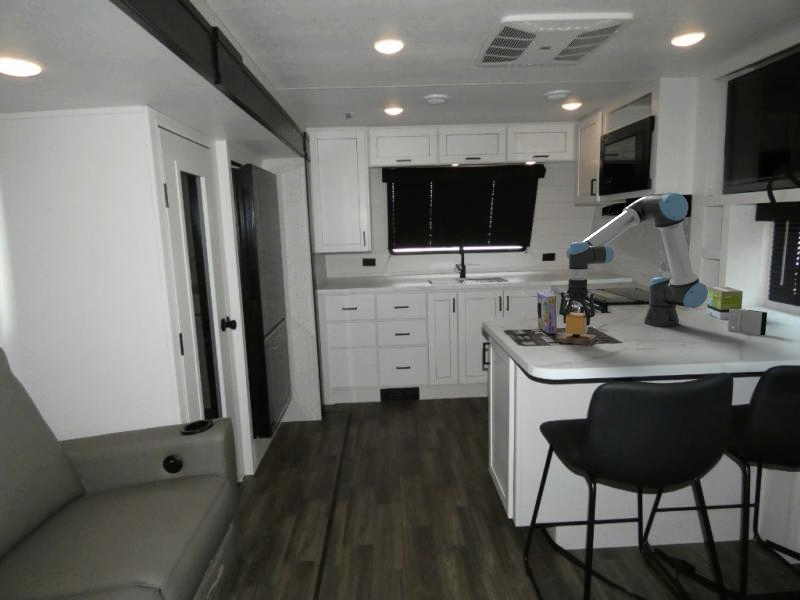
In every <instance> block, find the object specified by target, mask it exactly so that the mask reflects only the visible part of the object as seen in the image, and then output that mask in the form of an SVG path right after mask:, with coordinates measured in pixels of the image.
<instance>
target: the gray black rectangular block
mask: <svg viewBox="0 0 800 600" xmlns="http://www.w3.org/2000/svg"><path fill="white" fill-rule="evenodd" d="M733 313H735V315H733ZM727 320H728V321H727V322H728V323H727V332H733V333H734V332H735V333H737V332H738V333H745V334H748V335H754V334H755V336H762V335H763V336H766V331H767V322H768V321H767V320H768V312H767V311H762V310H754V309H746V308H742V309H739V310H737V309H729V319H727Z"/></svg>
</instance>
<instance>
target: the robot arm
mask: <svg viewBox="0 0 800 600" xmlns="http://www.w3.org/2000/svg"><path fill="white" fill-rule="evenodd" d="M688 211H689V203H688V201H687V199H686V197H684V195H682V194H680V193H678V192H665V193H656V194H653V193H652V194H648V195H644V196H642V197H640V198H638V199H637V200H635V201H633V202H632V203H631V204H628V206H626V207H624V208H623V209H622V212H621V213H620V214H619V215H617V216H616V217H614V218H613V219H611V220H610V221H608V223H606V224H605V225H603V226H602V227H601V228H599V229H598V230H597V231H595V232H594V233H592V234H591V235H589V236H588V237H587V238H585V239H584V240H582V241H580V242H579V241H573V242H570V244H569V246H568V247H567V250H566V257H567V259H568V260H569V261H568V278H569V279H568V283H567V284H568V287H567V290H565V291H562V292H560V297H561V298H560V305H559V312H558V313H559V315H561V316H563V324H565V325H566V315H567V314H568V313H570V310H571V307H572V306H573V303H574V302H575V301H577V302H580V303H581V306H582V309H583V311H584V312H583V313H585V315H586V318H584V334H587V333H588V326H591V318H594V317H595V316H596V310H595V295H596V294H595V293H594V292H593V293H592V292H589V291H588V276H589V275H588V273H589V272H588V271H589V270H588V269H589V265H600V264H601V265H604V264H609V263H611V262H612V261H613V260H614V258H615V257H614V254H615V252H614V248H612V247H611V246H609V245H608V244H609V243H610V242H612V241H614V240H615V239H616V238H617V237H619V236H620V235H622V234H623V233H625V232H626V231H627V230H630V228H632V227H636V226H638V225H639V224H641V223H644V222H648V221H654V226H655V228H656V229H658V230H660V235H661V238H662V242H663V246H664V250H665V254H666V258H667V262H668V267H669V270H670V275H671V276H662V277H652V278H651V279H650V282H649V294H648V295H649V298H648V299H649V303H648V309H647V312H646V314H645V316H644V321H643V322H644V324H646V325H650V326H656V327H677V326H679V325H680V318H679V315H678V312H677V306H678V307H679V306H680V307H685V308H689V309H690V308H691V309H695V308H700V307H701V306H702V305H704V303H705V301H706V299H708V287H707V285H706V284H704V283H703V282H701V281H700V279H699V275H697V274H695V273H694V270H693V266H692V262H691V257H690V254H689V253H690V252H689V250H688V245H687V241H686V236H685V233H684V228H683V223H684V222H685V221H686V219H685V217H686V216H687V215H688ZM567 295H568V296H569V299H568V303H567V305H566V300H567V299H566V297H567ZM586 297H588V299H589V307H588V305H587V302H586ZM565 305H566V306H565ZM565 307H566V308H565Z"/></svg>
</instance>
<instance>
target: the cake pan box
mask: <svg viewBox="0 0 800 600" xmlns="http://www.w3.org/2000/svg"><path fill="white" fill-rule="evenodd" d="M536 294H537V295H536V296H537V297H536V298H537V301H536V302H537V305H536V306H537V309H536V310H537V311H536V312H537V327H538V328H540V329H541V330H542V331H544V332H545V333H546V334H557V331H558V330H557V329H558V328H557V327H558V325H557V324H558V323H557V321H558V320H557V296H556V295H554V294H552V293H551V292H548V291H545V290H544V291H538V292H537V293H536Z"/></svg>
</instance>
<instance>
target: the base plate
mask: <svg viewBox="0 0 800 600" xmlns="http://www.w3.org/2000/svg"><path fill="white" fill-rule="evenodd" d="M595 340H596V341H597V334H587V333H584V334H583V335H580V337H573V334H570V333H566V331H563V332H562V333H560V334H559V335H558V336H555V342H556V343H559V342H562V343H561V344H568V343H573V344H572V345H578V344H583V345H582V346H587V345H590V346H591V345H592V344H594V343H595V342H596V341H595ZM594 341H595V342H594Z"/></svg>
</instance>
